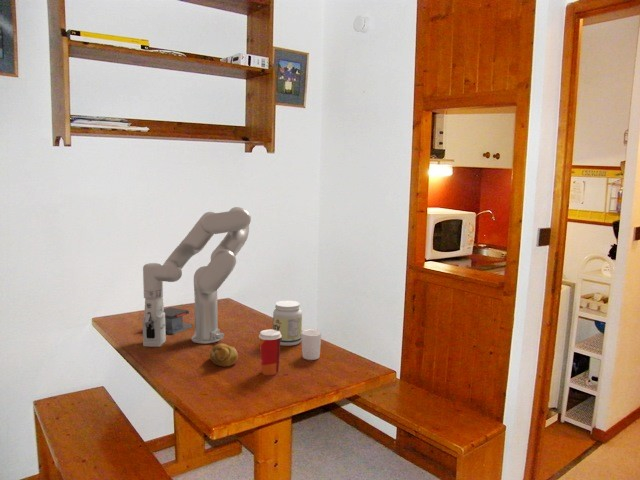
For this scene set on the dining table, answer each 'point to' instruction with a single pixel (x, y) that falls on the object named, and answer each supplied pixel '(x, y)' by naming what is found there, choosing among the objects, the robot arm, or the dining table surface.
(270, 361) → the coffee cup
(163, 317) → the supplement box
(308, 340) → the white cup
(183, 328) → the jack stand
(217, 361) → the bread roll
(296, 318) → the supplement tub
